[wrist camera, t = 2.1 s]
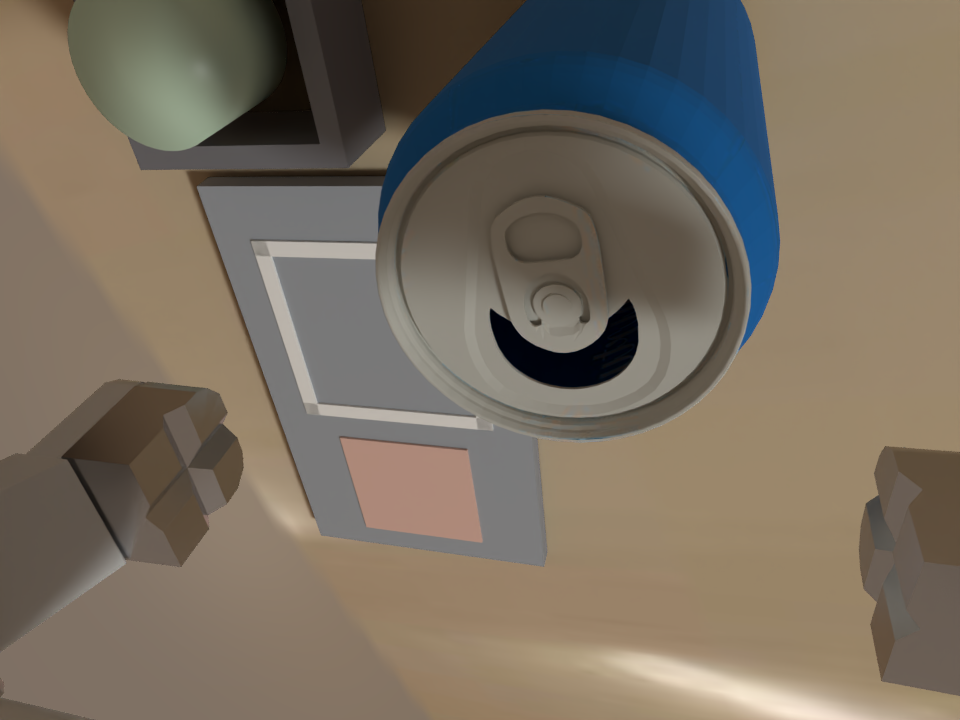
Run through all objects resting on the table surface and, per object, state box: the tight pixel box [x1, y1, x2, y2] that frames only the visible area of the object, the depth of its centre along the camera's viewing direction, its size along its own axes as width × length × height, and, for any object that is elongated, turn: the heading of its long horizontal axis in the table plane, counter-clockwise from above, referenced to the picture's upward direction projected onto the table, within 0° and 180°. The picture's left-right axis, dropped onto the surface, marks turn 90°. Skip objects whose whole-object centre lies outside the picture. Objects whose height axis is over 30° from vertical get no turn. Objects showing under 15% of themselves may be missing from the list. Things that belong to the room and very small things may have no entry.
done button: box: [68, 0, 287, 151], centre depth 19 cm, size 4×4×4 cm
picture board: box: [197, 176, 547, 567], centre depth 29 cm, size 18×11×1 cm, turn 7°
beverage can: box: [375, 0, 780, 442], centre depth 16 cm, size 6×6×12 cm
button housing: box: [73, 0, 386, 170], centre depth 21 cm, size 7×7×3 cm
